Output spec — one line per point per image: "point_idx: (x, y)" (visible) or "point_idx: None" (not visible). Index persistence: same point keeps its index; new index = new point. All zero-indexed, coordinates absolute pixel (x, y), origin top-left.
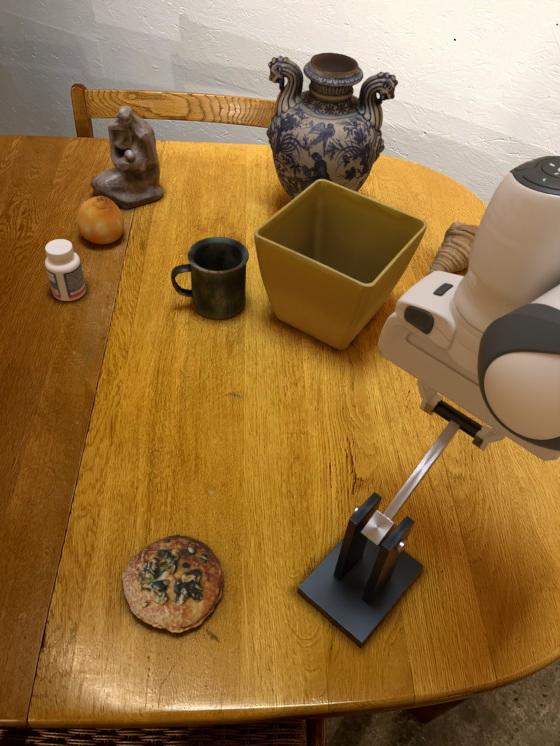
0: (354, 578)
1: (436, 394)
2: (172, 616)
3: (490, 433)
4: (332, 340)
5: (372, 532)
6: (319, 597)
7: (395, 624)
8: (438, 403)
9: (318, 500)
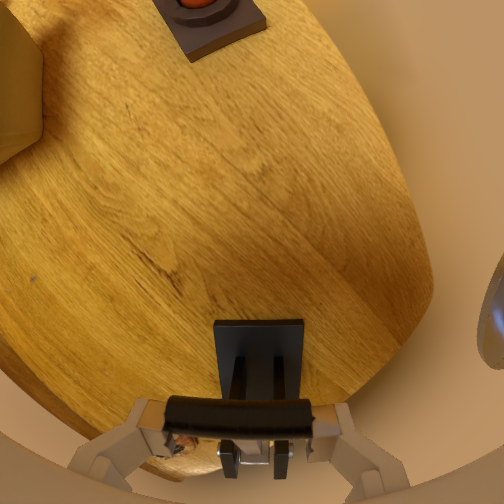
0: (255, 377)
1: (142, 430)
2: (183, 456)
3: (343, 462)
4: (25, 146)
5: (254, 464)
6: None
7: (310, 372)
8: (167, 435)
9: (164, 326)
